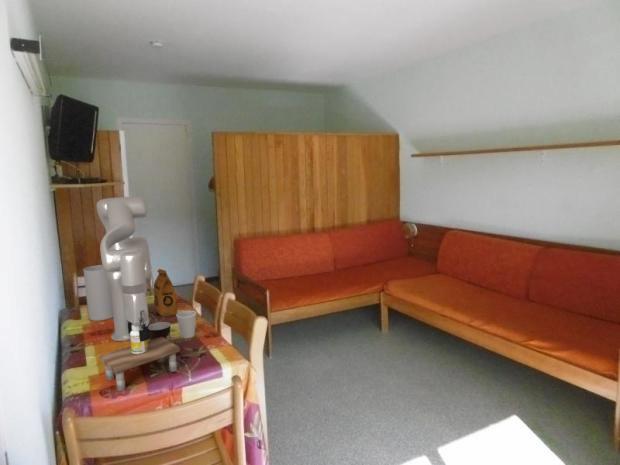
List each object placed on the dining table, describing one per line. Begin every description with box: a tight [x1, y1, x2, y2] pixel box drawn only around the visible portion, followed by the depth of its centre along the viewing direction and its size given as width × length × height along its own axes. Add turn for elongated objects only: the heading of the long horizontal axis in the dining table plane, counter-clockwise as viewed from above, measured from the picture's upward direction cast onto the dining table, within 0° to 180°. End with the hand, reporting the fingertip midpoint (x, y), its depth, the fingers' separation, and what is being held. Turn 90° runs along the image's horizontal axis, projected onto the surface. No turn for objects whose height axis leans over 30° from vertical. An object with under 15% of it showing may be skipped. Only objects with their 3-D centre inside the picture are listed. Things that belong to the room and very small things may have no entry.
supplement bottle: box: [130, 323, 149, 354], centre depth 142 cm, size 5×5×10 cm
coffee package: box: [153, 268, 178, 318], centre depth 205 cm, size 10×12×22 cm
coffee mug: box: [149, 321, 172, 342], centre depth 164 cm, size 12×9×10 cm
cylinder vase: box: [83, 264, 114, 322], centre depth 201 cm, size 12×12×25 cm
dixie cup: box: [175, 309, 197, 339], centre depth 176 cm, size 8×8×10 cm
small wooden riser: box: [99, 337, 181, 392], centre depth 143 cm, size 14×22×8 cm, turn 135°
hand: (138, 336), depth 141 cm, fingers open, 9 cm apart
